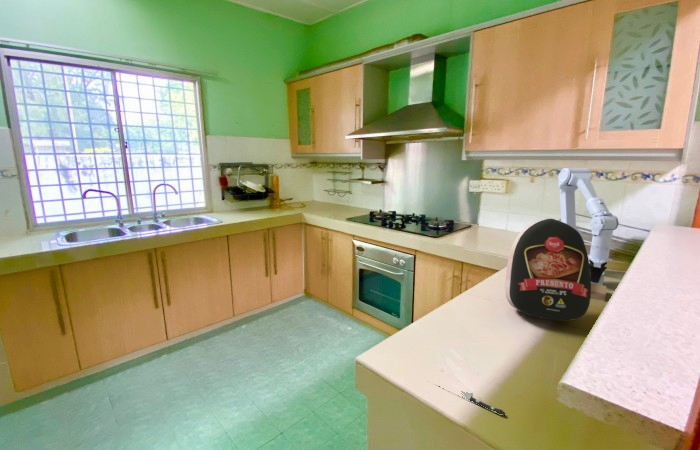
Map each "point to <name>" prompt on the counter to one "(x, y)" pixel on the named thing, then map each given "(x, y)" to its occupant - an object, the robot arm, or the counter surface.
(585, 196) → the robot arm
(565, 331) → the counter surface
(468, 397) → the chef's knife
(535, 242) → the packaged food
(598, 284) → the grey cube
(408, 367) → the counter surface
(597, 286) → the walnut block
